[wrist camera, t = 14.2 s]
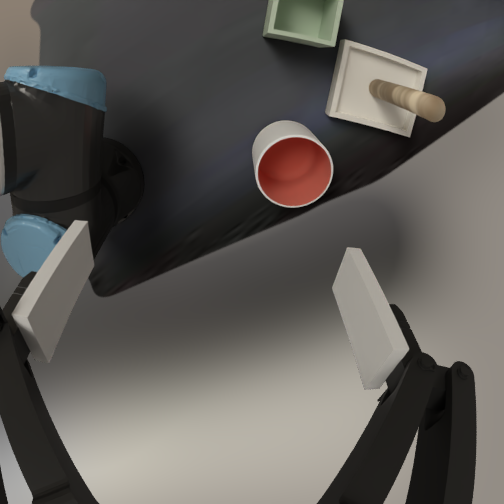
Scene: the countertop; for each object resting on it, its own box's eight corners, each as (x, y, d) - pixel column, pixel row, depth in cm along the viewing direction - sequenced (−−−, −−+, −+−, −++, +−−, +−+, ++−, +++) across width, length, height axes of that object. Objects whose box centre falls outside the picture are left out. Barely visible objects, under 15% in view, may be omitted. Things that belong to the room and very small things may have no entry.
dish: (325, 113, 44) (329, 116, 42) (340, 39, 37) (345, 39, 35) (403, 133, 46) (409, 137, 44) (419, 67, 39) (427, 68, 37)
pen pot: (262, 36, 37) (267, 32, 31) (271, -13, 32) (278, -26, 26) (318, 47, 38) (334, 46, 32) (327, -1, 33) (345, -10, 27)
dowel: (366, 94, 41) (420, 117, 28) (371, 76, 40) (427, 92, 27) (384, 100, 42) (441, 125, 29) (388, 82, 40) (447, 101, 27)
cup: (262, 111, 44) (268, 125, 36) (324, 129, 46) (344, 148, 37) (244, 171, 49) (246, 198, 41) (303, 186, 51) (317, 215, 43)
